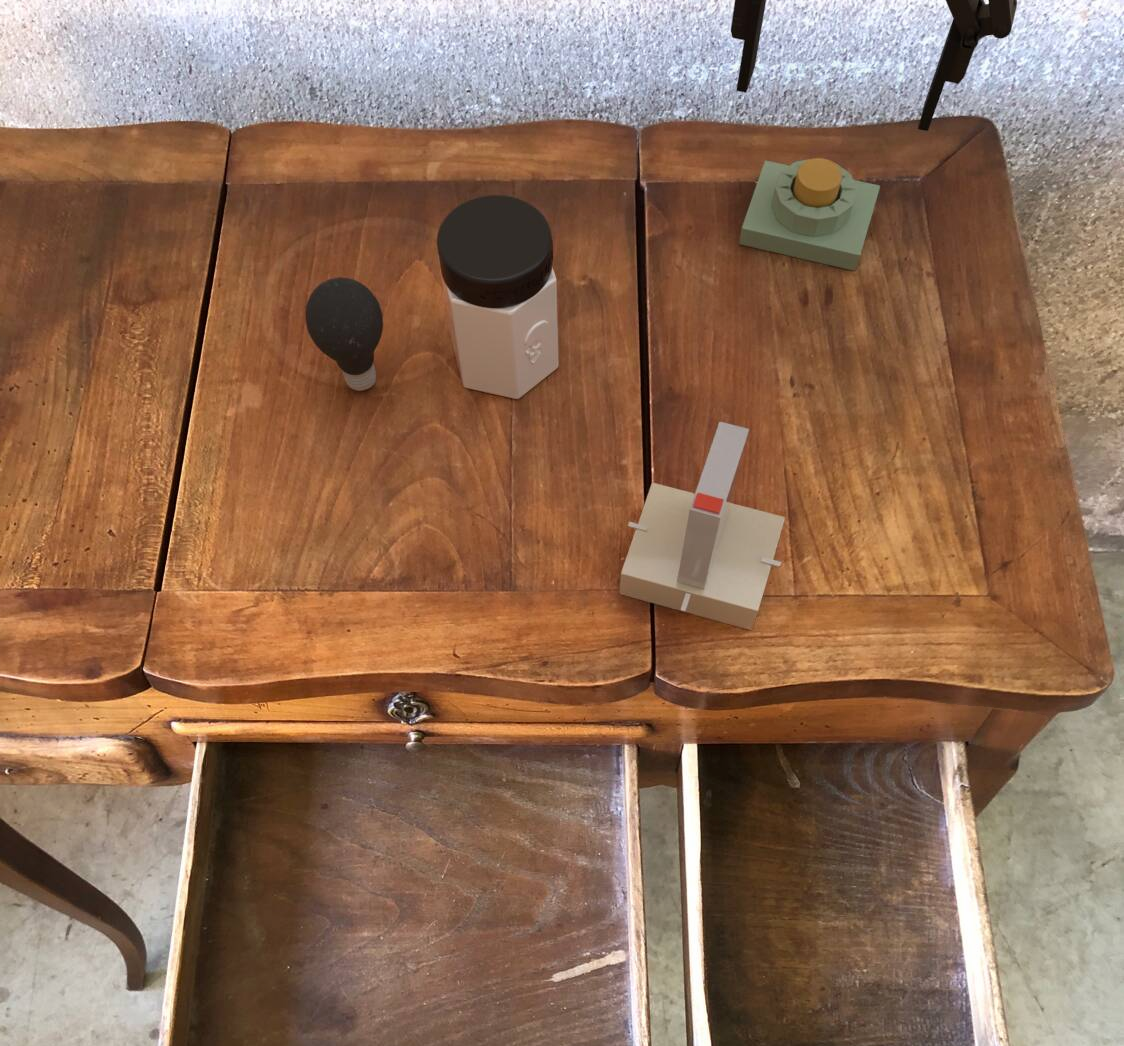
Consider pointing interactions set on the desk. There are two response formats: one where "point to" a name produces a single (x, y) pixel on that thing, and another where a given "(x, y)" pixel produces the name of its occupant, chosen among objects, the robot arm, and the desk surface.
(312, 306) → the light bulb
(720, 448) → the tap handle
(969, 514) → the desk surface
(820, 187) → the button
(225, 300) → the desk surface
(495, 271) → the jar
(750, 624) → the panel
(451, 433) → the desk surface
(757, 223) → the button block
